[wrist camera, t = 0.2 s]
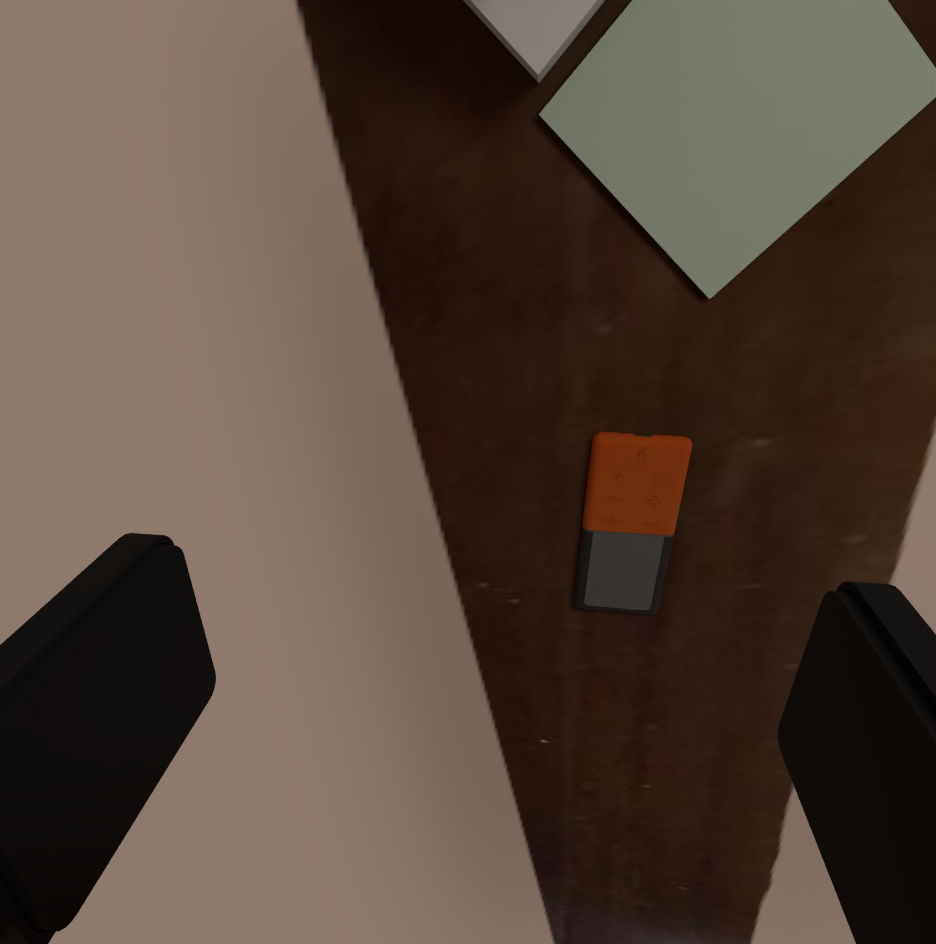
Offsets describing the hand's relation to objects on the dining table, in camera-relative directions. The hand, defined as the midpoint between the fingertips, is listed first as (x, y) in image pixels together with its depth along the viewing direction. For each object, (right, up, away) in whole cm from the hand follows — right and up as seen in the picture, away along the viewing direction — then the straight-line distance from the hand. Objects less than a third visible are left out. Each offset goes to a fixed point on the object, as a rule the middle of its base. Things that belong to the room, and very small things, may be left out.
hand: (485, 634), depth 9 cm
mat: (+13, +22, +22) cm, 33 cm away
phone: (+11, -1, +35) cm, 37 cm away
